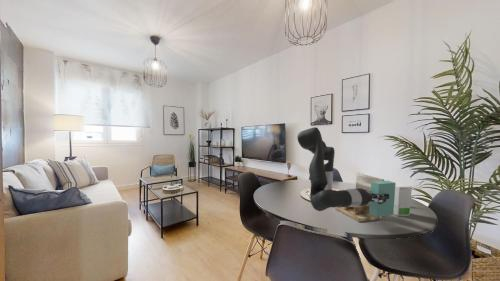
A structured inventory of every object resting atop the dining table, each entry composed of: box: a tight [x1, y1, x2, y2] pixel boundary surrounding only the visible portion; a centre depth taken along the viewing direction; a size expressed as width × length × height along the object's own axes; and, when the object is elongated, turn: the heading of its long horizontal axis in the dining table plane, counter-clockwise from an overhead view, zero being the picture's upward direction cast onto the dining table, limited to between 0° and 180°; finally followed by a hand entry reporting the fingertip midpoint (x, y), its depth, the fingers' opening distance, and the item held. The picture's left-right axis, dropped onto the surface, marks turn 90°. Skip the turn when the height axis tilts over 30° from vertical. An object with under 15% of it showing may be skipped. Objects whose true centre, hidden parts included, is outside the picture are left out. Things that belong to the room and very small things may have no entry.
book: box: [369, 180, 397, 217], centre depth 95 cm, size 10×4×15 cm, turn 107°
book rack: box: [334, 172, 385, 223], centre depth 109 cm, size 15×16×20 cm
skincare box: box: [393, 183, 413, 217], centre depth 111 cm, size 8×7×16 cm
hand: (383, 194), depth 95 cm, fingers closed on book, 4 cm apart
